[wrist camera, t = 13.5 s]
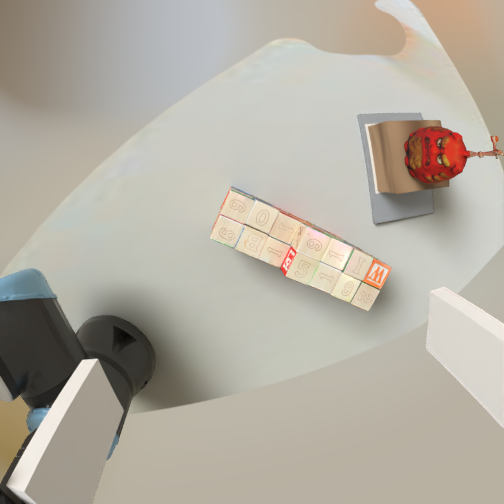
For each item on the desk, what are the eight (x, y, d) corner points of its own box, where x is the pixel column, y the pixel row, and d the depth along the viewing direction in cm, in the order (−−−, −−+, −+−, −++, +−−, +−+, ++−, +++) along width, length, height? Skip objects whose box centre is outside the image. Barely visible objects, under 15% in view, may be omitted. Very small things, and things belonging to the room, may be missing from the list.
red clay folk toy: (398, 127, 36) (471, 113, 21) (436, 130, 36) (510, 123, 21) (402, 182, 37) (477, 191, 23) (440, 182, 38) (514, 191, 23)
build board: (373, 222, 46) (375, 223, 45) (357, 115, 41) (359, 114, 40) (431, 211, 46) (434, 212, 45) (418, 113, 42) (421, 112, 41)
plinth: (377, 190, 44) (397, 193, 38) (367, 126, 41) (386, 121, 35) (427, 183, 44) (449, 186, 38) (419, 124, 41) (440, 120, 35)
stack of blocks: (212, 225, 44) (206, 243, 32) (230, 185, 43) (231, 189, 31) (338, 280, 48) (369, 312, 36) (356, 245, 47) (393, 268, 35)
